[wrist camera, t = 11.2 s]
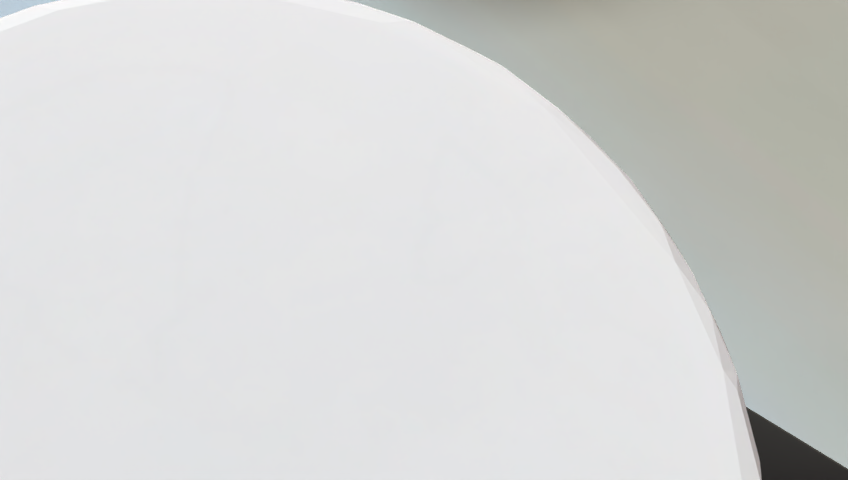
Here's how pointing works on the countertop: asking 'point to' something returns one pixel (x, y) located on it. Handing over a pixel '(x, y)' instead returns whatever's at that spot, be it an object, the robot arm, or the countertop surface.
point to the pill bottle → (329, 262)
